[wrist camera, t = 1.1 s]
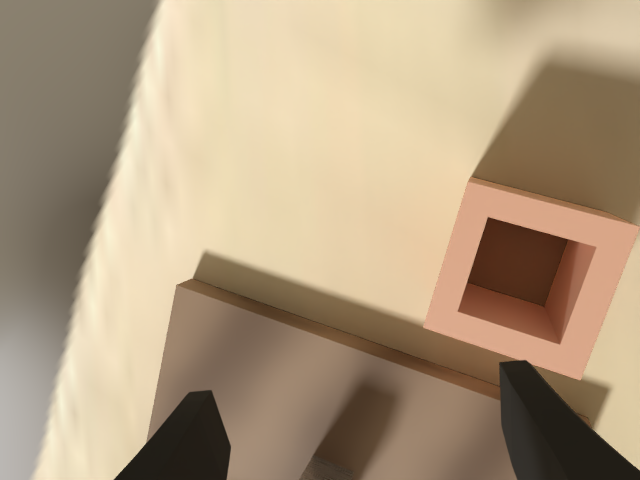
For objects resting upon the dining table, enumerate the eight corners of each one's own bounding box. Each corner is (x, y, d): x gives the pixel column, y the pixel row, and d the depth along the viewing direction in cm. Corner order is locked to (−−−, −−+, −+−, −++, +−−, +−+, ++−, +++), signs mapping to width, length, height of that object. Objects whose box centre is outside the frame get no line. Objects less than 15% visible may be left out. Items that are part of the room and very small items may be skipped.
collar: (605, 211, 22) (640, 226, 17) (560, 334, 23) (580, 380, 18) (470, 176, 23) (467, 181, 18) (434, 294, 24) (422, 327, 20)
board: (587, 417, 23) (594, 434, 22) (489, 662, 26) (490, 691, 25) (191, 278, 28) (176, 285, 27) (148, 500, 31) (132, 516, 30)
